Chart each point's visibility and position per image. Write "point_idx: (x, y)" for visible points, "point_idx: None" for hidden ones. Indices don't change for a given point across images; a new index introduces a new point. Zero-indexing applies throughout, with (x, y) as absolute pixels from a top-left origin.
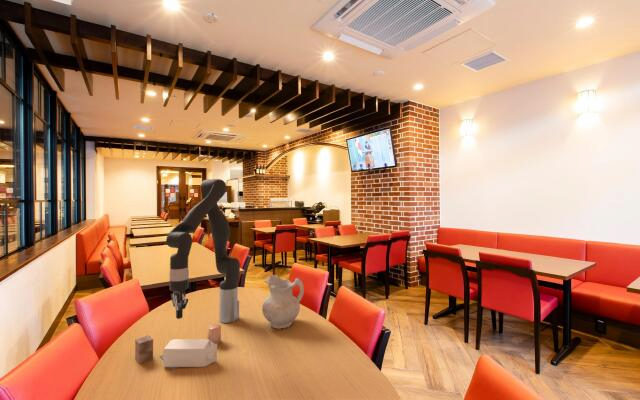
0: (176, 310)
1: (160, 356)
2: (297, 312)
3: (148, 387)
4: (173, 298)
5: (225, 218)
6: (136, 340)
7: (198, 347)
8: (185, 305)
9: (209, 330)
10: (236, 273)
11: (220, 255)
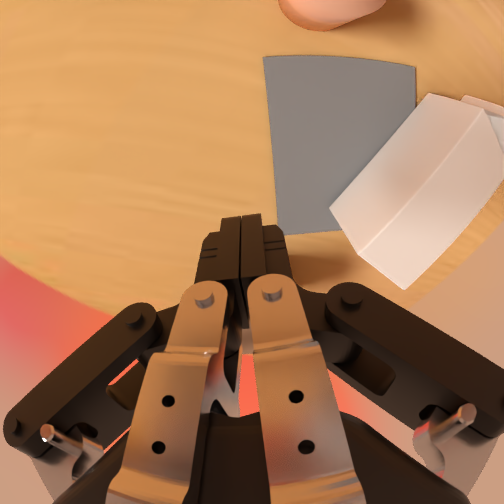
0: (244, 324)
1: (285, 234)
2: None
3: (417, 283)
4: (108, 436)
5: None
6: (250, 353)
7: (493, 182)
8: (430, 338)
9: (361, 15)
10: None
11: None
